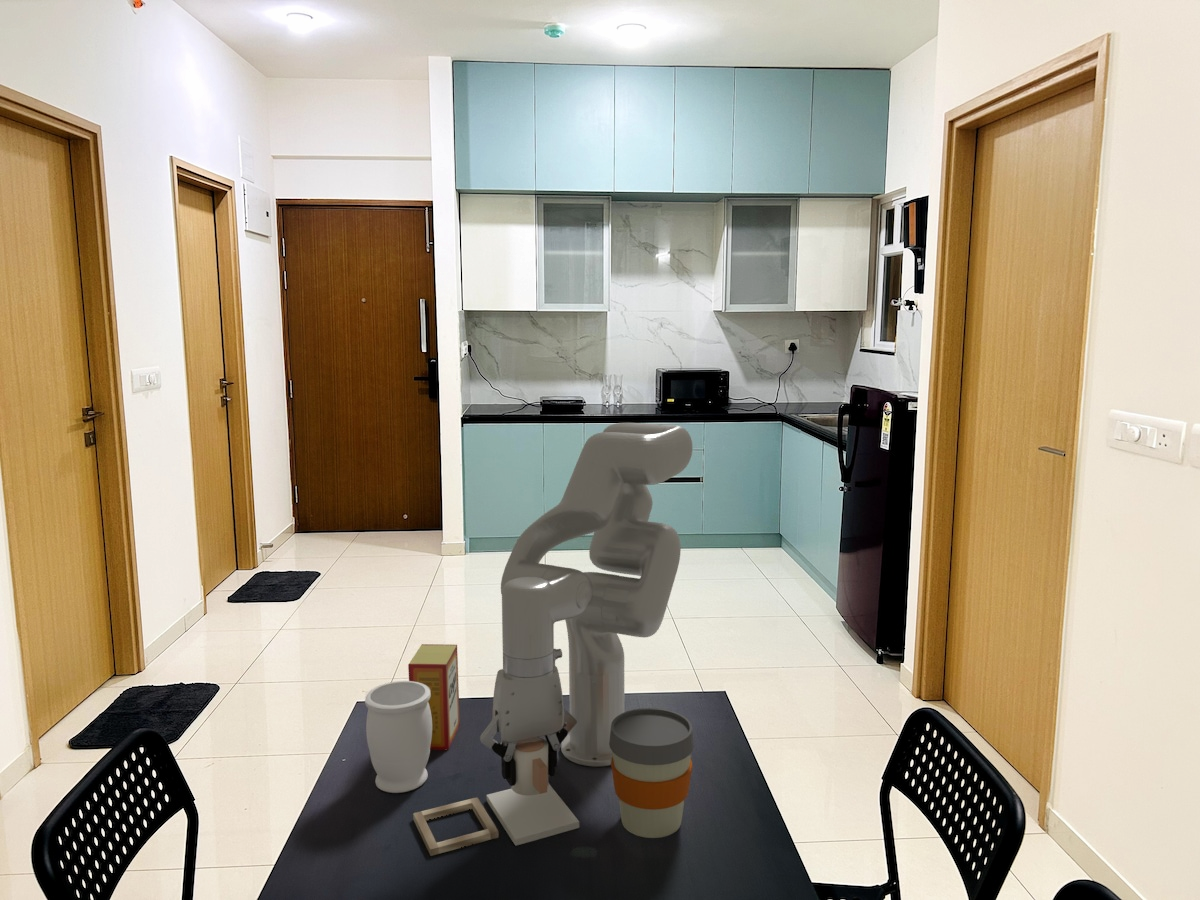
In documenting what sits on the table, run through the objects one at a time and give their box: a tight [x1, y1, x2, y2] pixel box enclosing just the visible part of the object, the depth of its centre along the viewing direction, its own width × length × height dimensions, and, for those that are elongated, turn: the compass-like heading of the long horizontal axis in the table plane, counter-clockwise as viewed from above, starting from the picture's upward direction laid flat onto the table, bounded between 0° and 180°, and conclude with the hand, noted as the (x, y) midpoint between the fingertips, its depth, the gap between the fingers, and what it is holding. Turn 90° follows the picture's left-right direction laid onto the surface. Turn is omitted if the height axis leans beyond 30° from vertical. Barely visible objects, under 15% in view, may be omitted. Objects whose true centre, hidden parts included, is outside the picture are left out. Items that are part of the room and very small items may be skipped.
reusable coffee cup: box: [609, 707, 695, 839], centre depth 128 cm, size 13×13×15 cm
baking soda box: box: [407, 643, 461, 751], centre depth 154 cm, size 10×6×16 cm
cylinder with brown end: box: [510, 737, 549, 796], centre depth 128 cm, size 8×6×7 cm
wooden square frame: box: [412, 797, 499, 857], centre depth 128 cm, size 10×10×1 cm
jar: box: [364, 680, 432, 794], centre depth 140 cm, size 11×10×15 cm
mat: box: [486, 782, 580, 846], centre depth 131 cm, size 10×13×1 cm
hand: (529, 775), depth 130 cm, fingers closed on cylinder with brown end, 5 cm apart
